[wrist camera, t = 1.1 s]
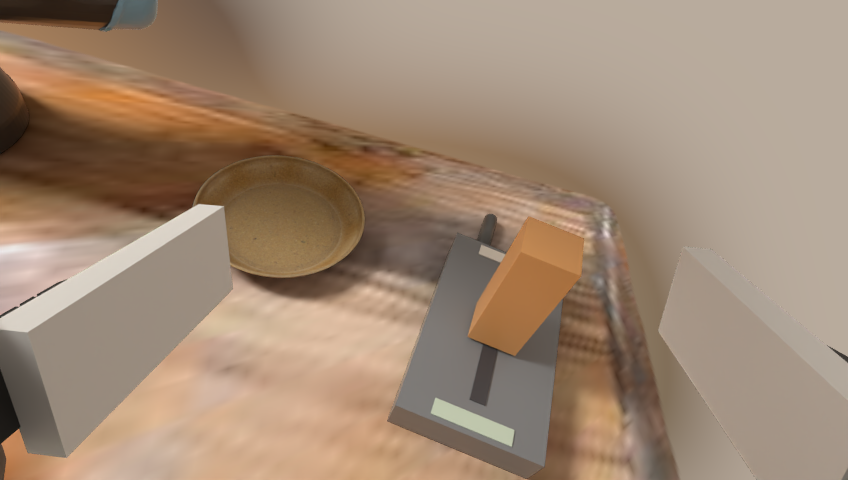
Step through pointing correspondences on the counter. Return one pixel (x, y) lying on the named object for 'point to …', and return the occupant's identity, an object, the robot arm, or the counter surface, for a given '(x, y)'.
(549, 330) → the switch box
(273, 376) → the counter surface
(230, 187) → the plant saucer
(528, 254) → the breaker handle
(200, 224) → the robot arm
